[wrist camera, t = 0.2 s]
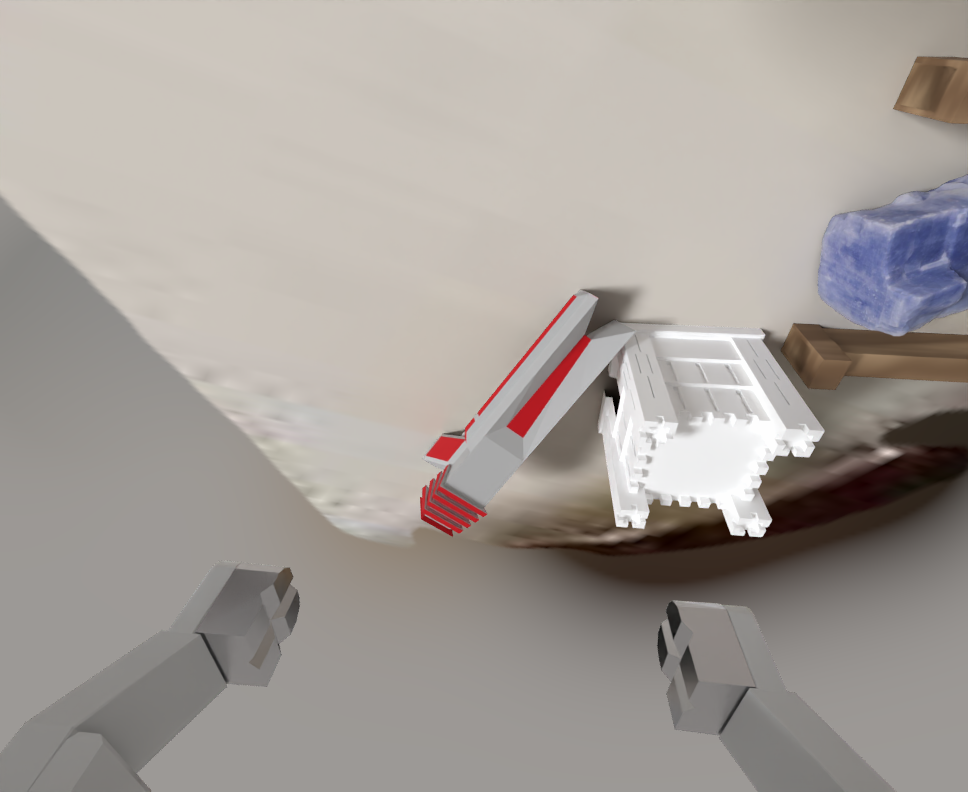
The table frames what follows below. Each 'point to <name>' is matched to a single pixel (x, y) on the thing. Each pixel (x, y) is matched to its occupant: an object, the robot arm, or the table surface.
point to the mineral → (899, 260)
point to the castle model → (699, 422)
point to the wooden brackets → (865, 353)
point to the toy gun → (518, 415)
